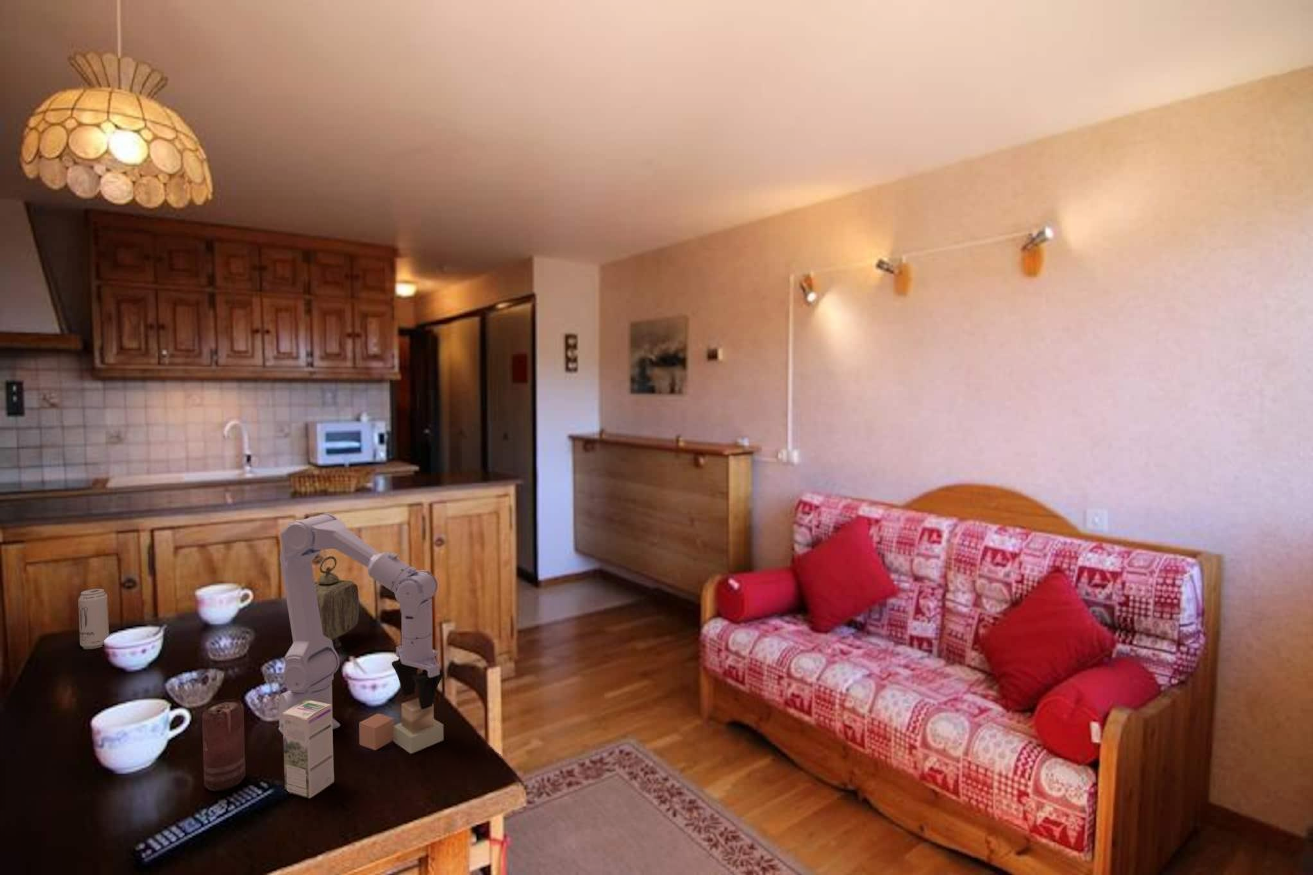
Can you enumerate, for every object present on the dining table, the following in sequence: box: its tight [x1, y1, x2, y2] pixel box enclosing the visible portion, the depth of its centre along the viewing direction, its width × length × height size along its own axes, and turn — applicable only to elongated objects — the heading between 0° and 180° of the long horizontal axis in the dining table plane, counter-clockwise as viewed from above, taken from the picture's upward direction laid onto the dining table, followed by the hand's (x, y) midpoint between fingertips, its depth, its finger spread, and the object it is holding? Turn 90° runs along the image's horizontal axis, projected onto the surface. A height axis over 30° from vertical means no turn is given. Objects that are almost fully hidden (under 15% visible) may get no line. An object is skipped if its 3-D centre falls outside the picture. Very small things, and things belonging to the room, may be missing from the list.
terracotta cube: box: [358, 713, 395, 751], centre depth 133 cm, size 4×4×4 cm
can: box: [201, 698, 246, 792], centre depth 118 cm, size 6×6×14 cm
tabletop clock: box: [314, 555, 360, 649], centre depth 181 cm, size 14×9×25 cm, turn 172°
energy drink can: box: [77, 588, 110, 650], centre depth 181 cm, size 6×6×15 cm
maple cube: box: [400, 697, 435, 733], centre depth 133 cm, size 4×4×4 cm
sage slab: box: [392, 718, 444, 755], centre depth 134 cm, size 7×7×4 cm
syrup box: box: [282, 700, 335, 799], centre depth 117 cm, size 6×6×14 cm
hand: (417, 700), depth 133 cm, fingers open, 7 cm apart
